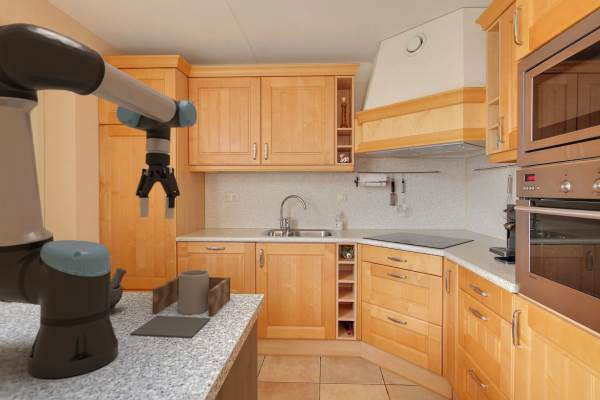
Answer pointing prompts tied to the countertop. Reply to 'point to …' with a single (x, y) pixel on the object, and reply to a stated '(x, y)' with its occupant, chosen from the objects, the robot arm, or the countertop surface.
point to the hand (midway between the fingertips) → (156, 218)
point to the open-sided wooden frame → (170, 294)
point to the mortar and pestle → (116, 289)
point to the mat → (171, 326)
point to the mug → (193, 291)
